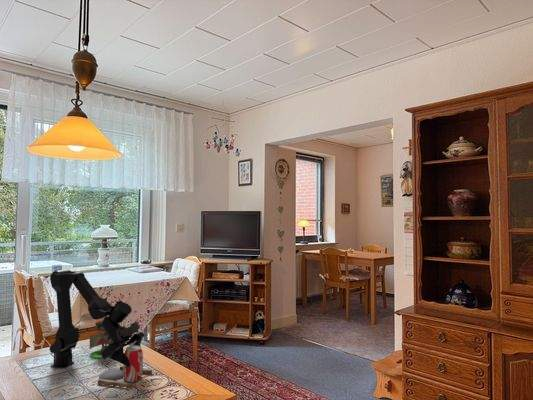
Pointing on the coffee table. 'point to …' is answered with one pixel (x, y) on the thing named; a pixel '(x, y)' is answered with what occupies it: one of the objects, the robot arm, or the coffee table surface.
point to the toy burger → (99, 342)
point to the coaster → (111, 374)
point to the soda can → (133, 364)
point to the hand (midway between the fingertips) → (136, 362)
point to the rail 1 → (115, 383)
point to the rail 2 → (146, 371)
